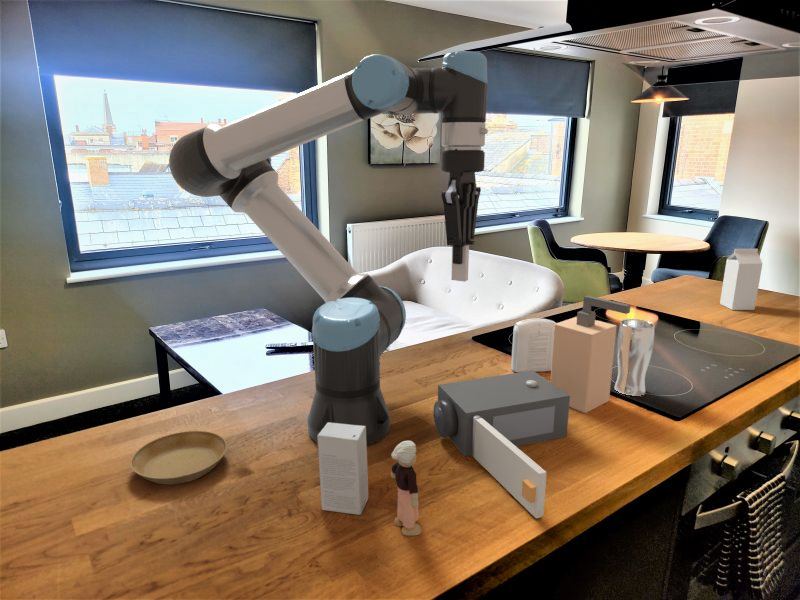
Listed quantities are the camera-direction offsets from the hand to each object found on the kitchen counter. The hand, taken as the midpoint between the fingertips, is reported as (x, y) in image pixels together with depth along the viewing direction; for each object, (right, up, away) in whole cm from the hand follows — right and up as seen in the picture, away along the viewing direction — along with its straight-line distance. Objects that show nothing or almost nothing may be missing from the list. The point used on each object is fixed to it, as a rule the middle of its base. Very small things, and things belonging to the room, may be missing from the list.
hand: (459, 279), depth 103 cm
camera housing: (+6, -28, -2) cm, 29 cm away
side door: (+4, -32, -18) cm, 37 cm away
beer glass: (+38, -23, +14) cm, 46 cm away
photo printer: (+20, -20, +26) cm, 38 cm away
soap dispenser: (+27, -25, +9) cm, 38 cm away
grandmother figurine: (-10, -35, -27) cm, 45 cm away
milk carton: (+97, -6, +74) cm, 122 cm away
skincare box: (-19, -34, -22) cm, 45 cm away
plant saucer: (-47, -31, -12) cm, 58 cm away
